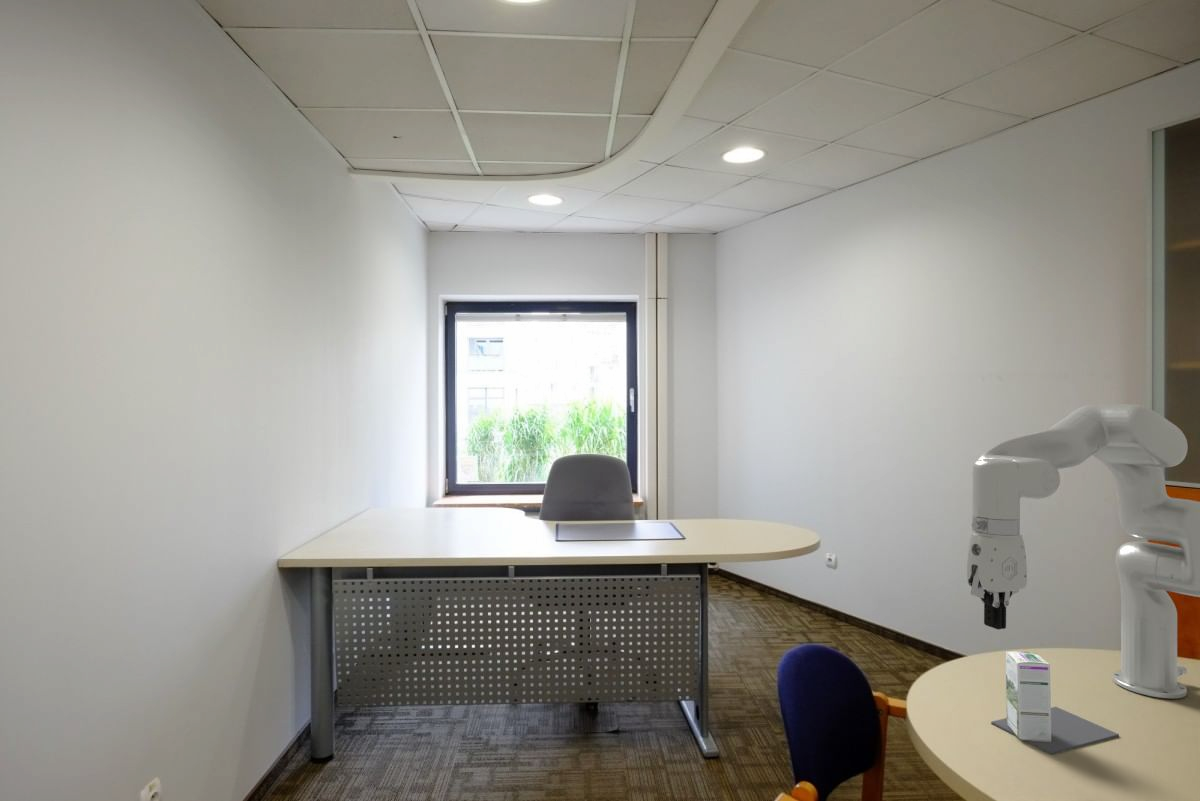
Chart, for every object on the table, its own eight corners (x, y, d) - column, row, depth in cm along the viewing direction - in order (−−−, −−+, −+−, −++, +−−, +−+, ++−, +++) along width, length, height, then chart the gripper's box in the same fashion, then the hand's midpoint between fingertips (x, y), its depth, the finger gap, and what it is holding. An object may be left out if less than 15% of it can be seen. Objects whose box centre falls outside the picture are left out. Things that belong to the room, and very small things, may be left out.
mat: (1055, 708, 137) (1055, 706, 137) (1118, 736, 126) (1118, 734, 126) (991, 723, 131) (991, 721, 131) (1051, 754, 119) (1051, 752, 119)
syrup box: (1052, 742, 123) (1052, 663, 122) (1017, 739, 124) (1017, 661, 124) (1038, 727, 128) (1038, 652, 128) (1004, 725, 129) (1004, 650, 129)
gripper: (983, 532, 117) (982, 638, 116) (1044, 528, 122) (1043, 629, 122) (947, 525, 124) (946, 624, 124) (1006, 521, 129) (1005, 616, 129)
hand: (994, 626), depth 123 cm, fingers closed
